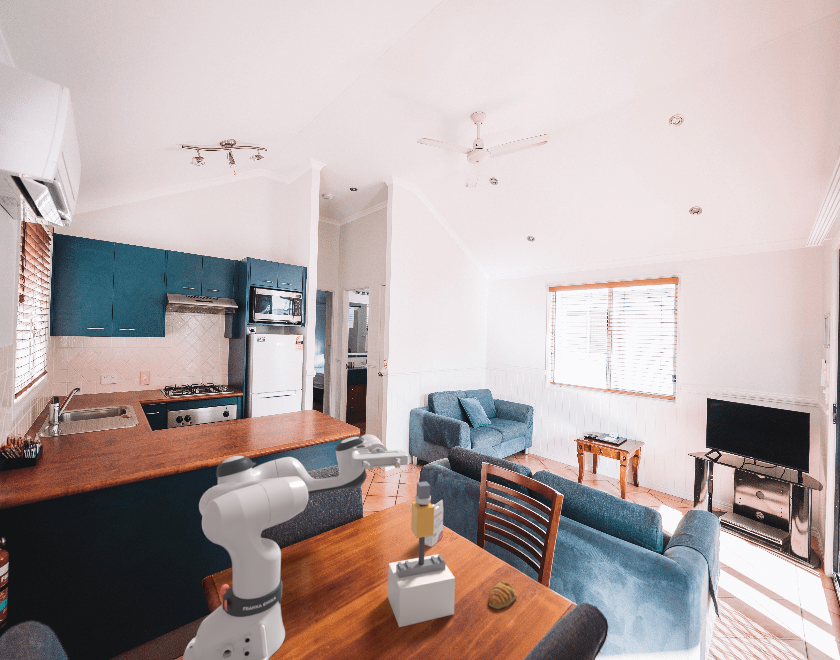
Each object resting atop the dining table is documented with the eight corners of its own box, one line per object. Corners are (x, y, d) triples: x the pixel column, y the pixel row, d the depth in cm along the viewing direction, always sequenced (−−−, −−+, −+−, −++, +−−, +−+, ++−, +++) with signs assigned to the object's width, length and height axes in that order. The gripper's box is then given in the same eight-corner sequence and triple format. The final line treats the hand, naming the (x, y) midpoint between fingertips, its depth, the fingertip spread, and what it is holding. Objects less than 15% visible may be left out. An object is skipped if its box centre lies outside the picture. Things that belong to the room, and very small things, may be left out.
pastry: (502, 615, 105) (503, 601, 105) (482, 604, 110) (482, 590, 110) (518, 598, 112) (518, 585, 113) (498, 588, 117) (498, 575, 117)
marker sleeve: (416, 538, 105) (417, 509, 105) (411, 529, 110) (411, 501, 110) (433, 535, 107) (434, 507, 107) (427, 526, 112) (427, 499, 112)
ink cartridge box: (432, 533, 148) (433, 495, 148) (443, 537, 145) (444, 499, 145) (420, 543, 141) (421, 503, 141) (431, 547, 138) (432, 507, 138)
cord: (416, 576, 105) (418, 487, 106) (411, 567, 110) (413, 481, 110) (430, 573, 107) (433, 486, 107) (425, 564, 111) (427, 480, 111)
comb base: (399, 627, 100) (400, 579, 100) (387, 597, 111) (389, 554, 111) (454, 614, 105) (455, 568, 105) (437, 586, 116) (439, 545, 117)
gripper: (402, 460, 143) (413, 473, 129) (348, 464, 136) (354, 478, 123) (403, 444, 143) (414, 455, 130) (348, 447, 136) (355, 459, 123)
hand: (384, 466), depth 126 cm, fingers open, 8 cm apart
